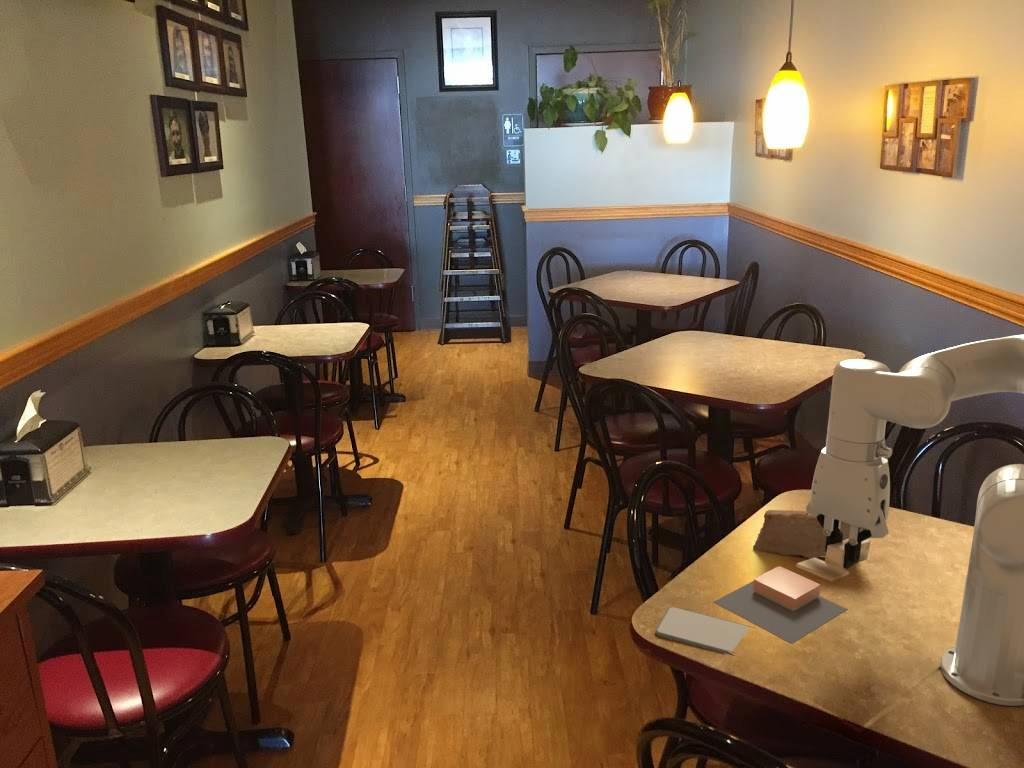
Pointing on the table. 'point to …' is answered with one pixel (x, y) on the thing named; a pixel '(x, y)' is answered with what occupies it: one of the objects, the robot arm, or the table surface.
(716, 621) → the smartphone
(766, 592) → the tile
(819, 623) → the mat
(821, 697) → the table surface
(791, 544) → the stone
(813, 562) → the turner
